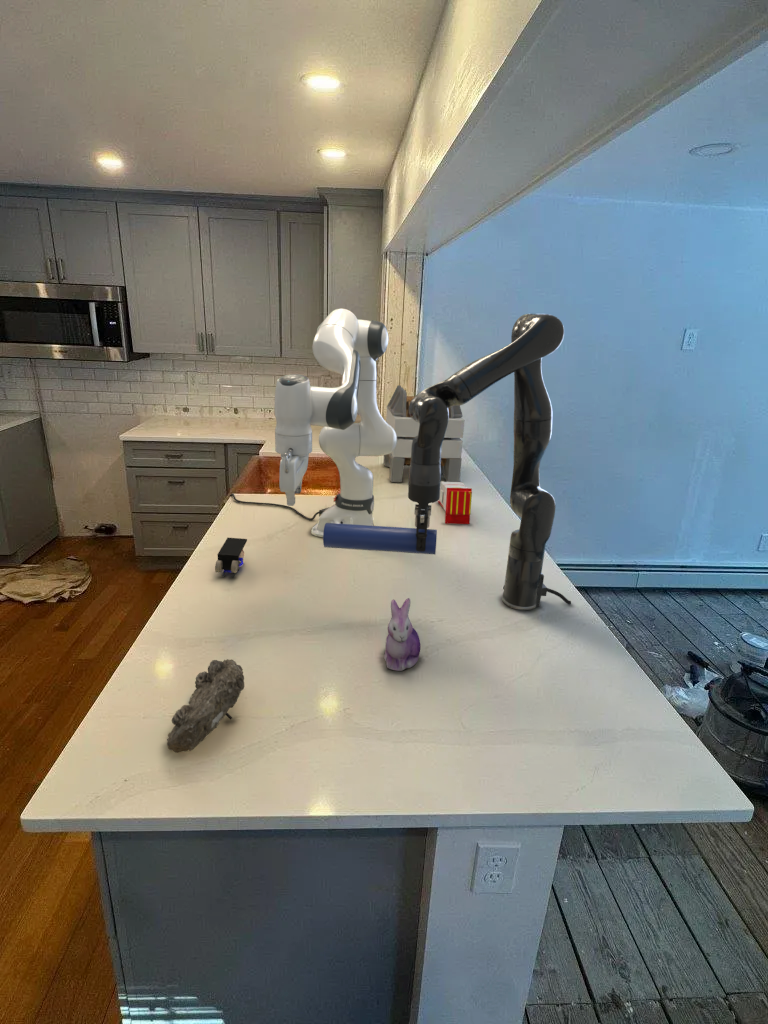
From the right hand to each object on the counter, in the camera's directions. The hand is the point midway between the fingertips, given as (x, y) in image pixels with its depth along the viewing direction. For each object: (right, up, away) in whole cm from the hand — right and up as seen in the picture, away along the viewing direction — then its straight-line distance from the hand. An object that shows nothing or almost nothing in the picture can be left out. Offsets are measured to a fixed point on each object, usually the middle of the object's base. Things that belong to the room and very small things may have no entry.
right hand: (421, 545), depth 139 cm
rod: (-10, -1, +1) cm, 10 cm away
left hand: (-31, +11, +2) cm, 34 cm away
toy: (+18, +8, +85) cm, 87 cm away
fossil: (-42, -31, -31) cm, 61 cm away
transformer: (+8, +27, +136) cm, 139 cm away
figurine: (-5, -25, -11) cm, 28 cm away
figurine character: (-54, -9, +28) cm, 62 cm away
